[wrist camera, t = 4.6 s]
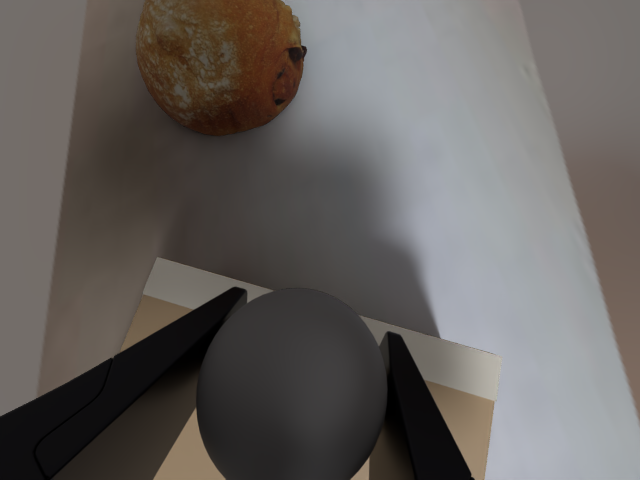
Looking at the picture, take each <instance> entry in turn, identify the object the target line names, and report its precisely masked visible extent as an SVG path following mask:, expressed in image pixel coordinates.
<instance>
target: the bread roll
mask: <svg viewBox="0 0 640 480" xmlns="http://www.w3.org/2000/svg"><path fill="white" fill-rule="evenodd" d="M299 27H300V22H299V20H298V17H296V16H295V15H292V9H291V8H290V6H288V5H285V3H284V2H282V1H281V0H145V2H144V6H143V12H142V13H141V16H140V22H139V24H138V29H137V34H136V55H137V61H138V66H139V69H140V72H141V75H142V78H143V80H144V82H145V84H146V86H147V89H148V91H149V92H150V94H151V95H152V97H153V98H154V100H155V101H156V103H157V104H158V105H159V106H160V107H161V108H162V109H163V110H164V111H165V112H166V113H167V114H168V115H169V116H170V117H171V118H173V119H174V120H175V121H177V122H178V123H180V124H181V125H183V126H185V127H187V128H190V129H192V130H195V131H197V132H200V133H203V134H209V135H215V136H221V135H222V136H223V135H226V134H234V133H236V132H241V131H246V130H249V129H252V128H256V127H259V126H262V125H265V124H267V123H268V122H270V121H271V120H272V119H273V118H275V117H276V116H277V115H278V114H279V113H280V112H282V111H283V110H284V109H285V108H286V107H287V106H288V104H289V103H290V102H291V101H292V99H293V98H294V97H295V95H296V92H297V90H298V86H299V83H300V80H301V78H302V73H303V61H304V57H305V55H306V53H307V49H306V47H305V46H301V39H300V28H299Z"/></svg>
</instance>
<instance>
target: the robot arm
mask: <svg viewBox="0 0 640 480" xmlns="http://www.w3.org/2000/svg"><path fill="white" fill-rule="evenodd" d="M247 294H248V293H247V290H246V289H243V288H240V287H236V286H235V287H232V288H230V289H228V290H227V291H225V292H223V293H222V294H220V295H218V296H216V297H215V298H213V299H211V300H210V301H208V302H206V303H204V304H203V305H201V306H199V307H198V308H196V309H194V310H192V311H191V312H189V313H187V314H185V315H184V316H182V317H180V318H179V319H177V320H175V321H173V322H172V323H170V324H168V325H167V326H165V327H163V328H161V329H160V330H158V331H156V332H155V333H153V334H151V335H149V336H148V337H146V338H144V339H143V340H141V341H139V342H137V343H136V344H134V345H132V346H130V347H129V348H127V349H125V350H124V351H122V352H120V353H118V354H117V355H115V356H114V358H110V359H108V360H106V361H104V362H103V363H101V364H99V365H98V366H96V367H94V368H92V369H91V370H89V371H87V372H85V373H83V374H82V375H80V376H78V377H76V378H74V379H73V380H71V381H69V382H67V383H65V384H64V385H62V386H60V387H58V388H56V389H54V390H52V391H50V392H48V393H46V394H44V395H42V396H40V397H38V398H36V399H34V400H32V401H31V402H28V403H26V404H24V405H23V406H21V407H18V408H16V409H15V410H12V411H10V412H8V413H6V414H4V415H2V416H0V480H153V479H154V477H155V475H156V474H157V472H158V470H159V469H160V467H161V465H162V464H163V462H164V460H165V459H166V457H167V455H168V454H169V452H170V450H171V449H172V447H173V445H174V444H175V442H176V440H177V439H178V437H179V435H180V433H181V432H182V430H183V428H184V427H185V425H186V423H187V422H188V420H189V418H190V417H191V415H192V413H193V412H194V410H195V408H196V390H197V383H198V376H199V372H200V369H201V365H202V362H203V360H204V357H205V355H206V352H207V350H208V348H209V346H210V344H211V342H212V340H213V338H214V337H215V335H216V334H217V332H218V331H219V329H220V328H221V327H222V325H223V324H224V323H225V322H226V321H227V320H228V319H229V318H230V317H231V316H232V315H233V314H234V313H235V312H236V311H237V310H239V309H240V308H241V307H242V306H244V305H245V304H247ZM379 348H380V351H381V354H382V357H383V360H384V365H385V369H386V377H387V388H388V390H387V408H386V415H385V419H384V423H383V427H382V430H381V433H380V435H379V438H378V440H377V443H376V445H375V447H374V449H373V451H372V453H371V454H370V456H369V480H475V479H474V478H473V477H471V475H472V473H471V471H470V469H469V467H468V465H467V463H466V461H465V459H464V457H463V455H462V453H461V451H460V449H459V447H458V445H457V444H456V442H455V440H454V438H453V436H452V434H451V432H450V430H449V428H448V426H447V424H446V422H445V420H444V418H443V416H442V414H441V412H440V410H439V408H438V406H437V404H436V402H435V400H434V398H433V396H432V394H431V392H430V391H429V389H428V387H427V385H426V383H425V381H424V379H423V377H422V375H421V373H420V371H419V369H418V367H417V365H416V363H415V361H414V359H413V357H412V355H411V353H410V351H409V349H408V347H407V345H406V343H405V341H404V339H403V338H402V336H401V335H400V334H398V333H394V332H391V331H387V332H386V333H385V335H384V337H383V339H382V341H381V343H380V345H379Z"/></svg>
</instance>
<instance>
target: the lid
mask: <svg viewBox="0 0 640 480" xmlns="http://www.w3.org/2000/svg"><path fill="white" fill-rule="evenodd" d="M235 286H236V287H240V288H243V289H246V290H247V293H248V294H247V304H245V305H244V306H242V307H241V308H240V309H239V310H237V311H236V312H235V313H234V314H233V315H232V316H231V317H230V318H229V319H228V320H227V321H226V322H225V323H224V324H223V325H222V327H221V328H220V329H219V331H218V332H217V334H216V335H215V337H214V338H213V340H212V342H211V344H210V346H209V348H208V350H207V352H206V355H205V357H204V360H203V362H202V365H201V369H200V372H199V376H198V383H197V390H196V408H195V410H194V412H193V413H192V415H191V417H190V418H189V420H188V422H187V423H186V425H185V427H184V428H183V430H182V432H181V433H180V435H179V437H178V439H177V440H176V442H175V444H174V445H173V447H172V449H171V450H170V452H169V454H168V455H167V457H166V459H165V460H164V462H163V464H162V465H161V467H160V469H159V470H158V472H157V474H156V475H155V477H154V479H153V480H369V456H370V454H371V453H372V451H373V449H374V447H375V445H376V443H377V440H378V438H379V435H380V433H381V430H382V427H383V423H384V419H385V415H386V408H387V390H388V388H387V377H386V369H385V365H384V360H383V357H382V354H381V351H380V348H379V345H380V343H381V341H382V339H383V337H384V335H385V333H386V332H387V331H391V332H394V333H398V334H400V335H401V336H402V338H403V339H404V341H405V343H406V345H407V347H408V349H409V351H410V353H411V355H412V357H413V359H414V361H415V363H416V365H417V367H418V369H419V371H420V373H421V375H422V377H423V379H424V381H425V383H426V385H427V387H428V389H429V391H430V392H431V394H432V396H433V398H434V400H435V402H436V404H437V406H438V408H439V410H440V412H441V414H442V416H443V418H444V420H445V422H446V424H447V426H448V428H449V430H450V432H451V434H452V436H453V438H454V440H455V442H456V444H457V445H458V447H459V449H460V451H461V453H462V455H463V457H464V459H465V461H466V463H467V465H468V467H469V469H470V471H471V473H472V475H471V477H473V478H474V479H475V480H484V478H485V471H486V463H487V455H488V448H489V440H490V433H491V425H492V417H493V410H494V402H495V401H496V400H497V393H498V385H499V377H500V370H501V362H502V357H501V356H498V355H495V354H492V353H489V352H485V351H482V350H478V349H475V348H471V347H468V346H464V345H461V344H458V343H454V342H451V341H447V340H444V339H440V338H437V337H433V336H430V335H426V334H423V333H420V332H416V331H413V330H409V329H406V328H402V327H399V326H395V325H392V324H388V323H385V322H382V321H378V320H375V319H371V318H368V317H364V316H361V315H358V314H357V313H356V312H355V311H353V310H352V309H351V308H350V307H349V306H348V305H346V304H345V303H343V302H342V301H340V300H339V299H337V298H335V297H333V296H331V295H329V294H326V293H323V292H320V291H316V290H312V289H304V288H289V289H282V290H277V291H274V290H271V289H267V288H264V287H261V286H257V285H254V284H250V283H247V282H243V281H240V280H236V279H233V278H229V277H226V276H223V275H219V274H216V273H212V272H209V271H205V270H202V269H198V268H195V267H191V266H188V265H185V264H181V263H178V262H174V261H171V260H167V259H163V258H159V257H157V259H156V261H155V263H154V266H153V268H152V271H151V273H150V276H149V278H148V280H147V283H146V285H145V288H144V290H143V293H142V294H143V297H142V299H141V301H140V304H139V306H138V309H137V311H136V314H135V316H134V319H133V321H132V323H131V326H130V328H129V331H128V333H127V336H126V338H125V341H124V343H123V345H122V348H121V350H120V352H122V351H124V350H125V349H127V348H129V347H130V346H132V345H134V344H136V343H137V342H139V341H141V340H143V339H144V338H146V337H148V336H149V335H151V334H153V333H155V332H156V331H158V330H160V329H161V328H163V327H165V326H167V325H168V324H170V323H172V322H173V321H175V320H177V319H179V318H180V317H182V316H184V315H185V314H187V313H189V312H191V311H192V310H194V309H196V308H198V307H199V306H201V305H203V304H204V303H206V302H208V301H210V300H211V299H213V298H215V297H216V296H218V295H220V294H222V293H223V292H225V291H227V290H228V289H230V288H232V287H235Z"/></svg>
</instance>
